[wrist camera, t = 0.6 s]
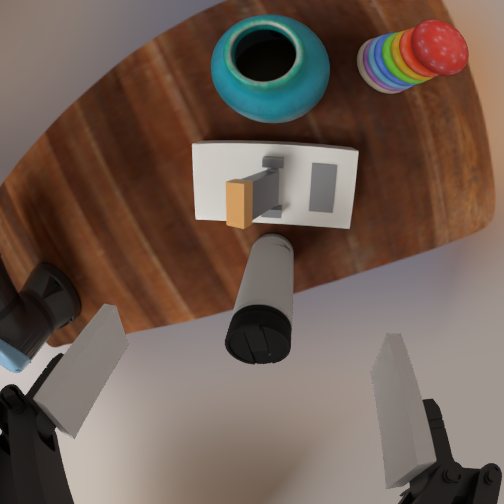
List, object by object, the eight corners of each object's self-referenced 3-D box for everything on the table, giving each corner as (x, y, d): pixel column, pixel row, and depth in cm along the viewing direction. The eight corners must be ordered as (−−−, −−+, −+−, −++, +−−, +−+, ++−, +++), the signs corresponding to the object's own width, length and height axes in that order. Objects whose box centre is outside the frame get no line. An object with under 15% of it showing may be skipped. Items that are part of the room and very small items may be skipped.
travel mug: (289, 227, 41) (285, 320, 23) (296, 267, 44) (294, 371, 26) (246, 234, 42) (213, 326, 25) (256, 272, 45) (232, 374, 27)
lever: (267, 201, 36) (226, 225, 29) (268, 167, 34) (225, 181, 27) (282, 204, 35) (244, 229, 28) (283, 168, 33) (244, 184, 26)
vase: (224, 104, 34) (163, 99, 17) (253, 35, 29) (218, -27, 12) (300, 133, 35) (308, 152, 18) (331, 64, 30) (367, 21, 13)
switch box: (204, 209, 41) (191, 225, 36) (201, 140, 37) (186, 145, 32) (344, 217, 39) (352, 235, 34) (351, 147, 35) (362, 153, 29)
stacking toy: (345, 47, 28) (388, -3, 12) (396, 34, 26) (465, -8, 10) (370, 100, 31) (435, 94, 15) (419, 86, 29) (504, 80, 12)
